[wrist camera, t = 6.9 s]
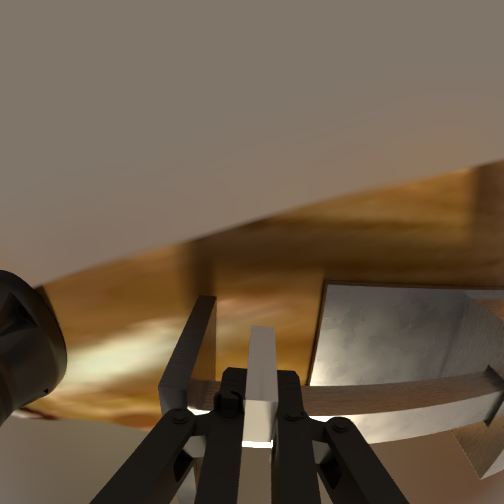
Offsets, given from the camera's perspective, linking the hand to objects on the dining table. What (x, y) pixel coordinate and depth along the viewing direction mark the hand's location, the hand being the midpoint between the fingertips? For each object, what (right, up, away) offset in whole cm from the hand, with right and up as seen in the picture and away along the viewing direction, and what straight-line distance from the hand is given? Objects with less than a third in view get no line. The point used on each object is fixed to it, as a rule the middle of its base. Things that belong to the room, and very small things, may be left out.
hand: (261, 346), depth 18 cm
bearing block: (+18, -4, +8) cm, 20 cm away
